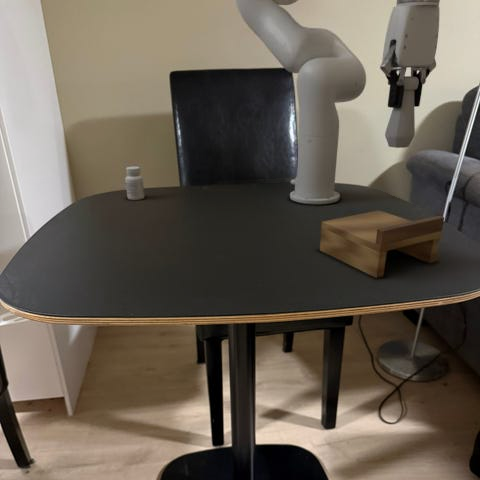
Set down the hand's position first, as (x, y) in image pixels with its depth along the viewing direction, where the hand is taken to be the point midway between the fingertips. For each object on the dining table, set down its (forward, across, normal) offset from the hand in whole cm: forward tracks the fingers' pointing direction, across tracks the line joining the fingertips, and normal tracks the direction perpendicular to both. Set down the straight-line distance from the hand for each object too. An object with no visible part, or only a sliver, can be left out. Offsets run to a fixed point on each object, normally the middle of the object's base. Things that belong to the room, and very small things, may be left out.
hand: (403, 105), depth 96 cm
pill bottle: (+23, +42, -48) cm, 68 cm away
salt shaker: (+8, 0, 0) cm, 8 cm away
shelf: (+23, +19, +16) cm, 34 cm away
